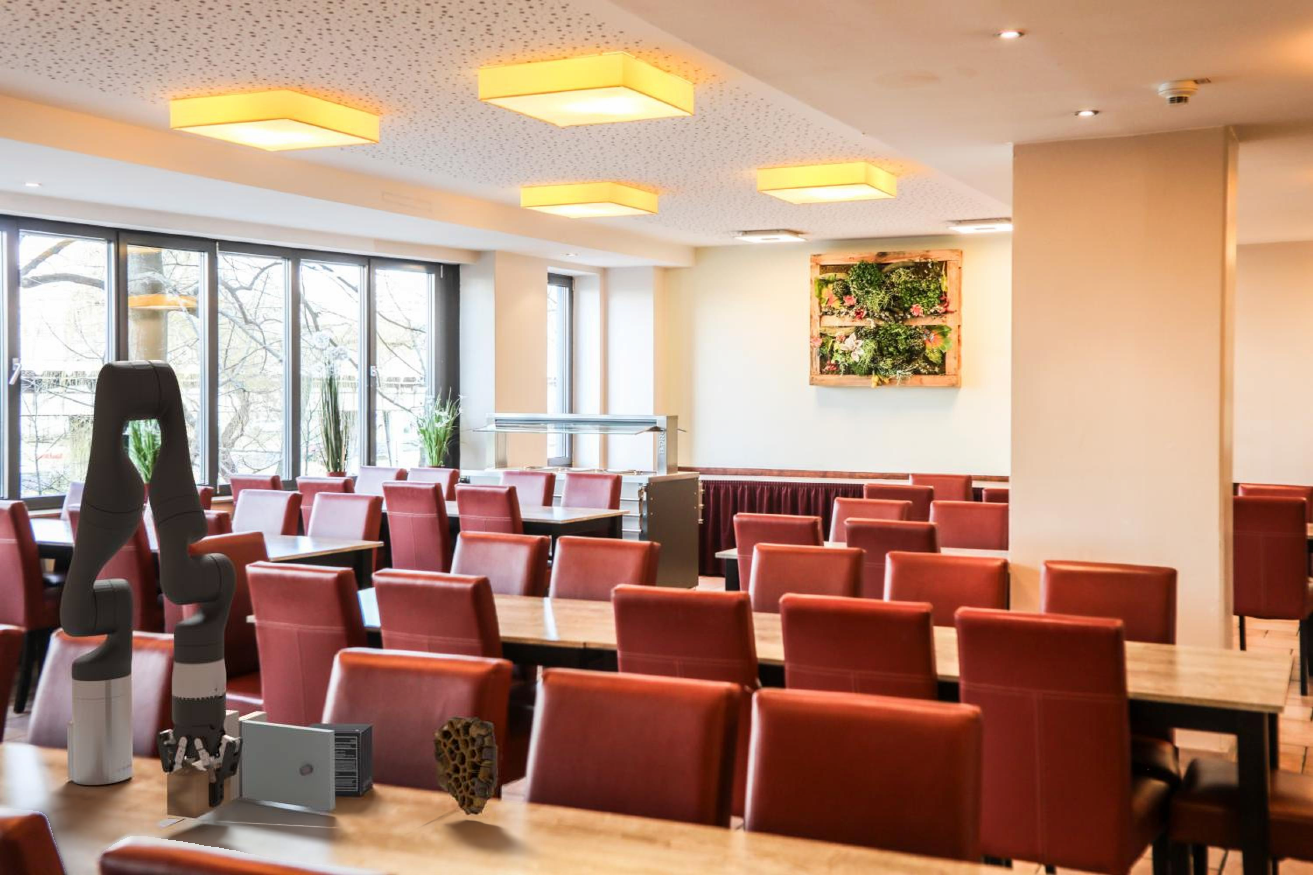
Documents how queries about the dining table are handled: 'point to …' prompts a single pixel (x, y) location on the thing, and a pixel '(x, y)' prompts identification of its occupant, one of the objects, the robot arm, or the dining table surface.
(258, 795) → the door
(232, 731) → the door frame
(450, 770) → the brown wasp nest
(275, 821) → the dining table surface
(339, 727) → the small box
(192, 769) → the block
